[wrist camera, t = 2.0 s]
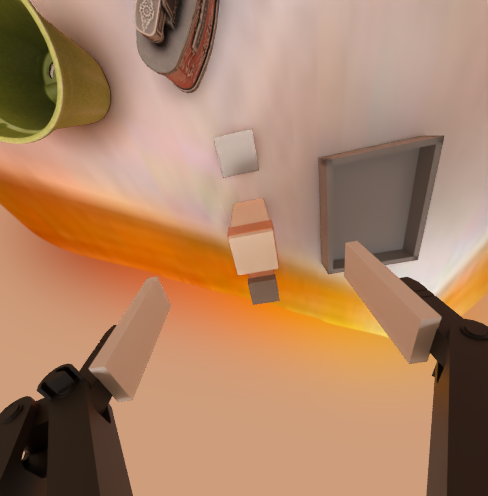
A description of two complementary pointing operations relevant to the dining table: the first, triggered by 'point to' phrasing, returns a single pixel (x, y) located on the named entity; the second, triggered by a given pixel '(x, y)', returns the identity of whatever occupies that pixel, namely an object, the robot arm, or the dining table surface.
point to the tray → (377, 200)
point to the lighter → (177, 38)
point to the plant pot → (44, 77)
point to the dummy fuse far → (263, 287)
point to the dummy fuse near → (236, 153)
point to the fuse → (252, 238)
